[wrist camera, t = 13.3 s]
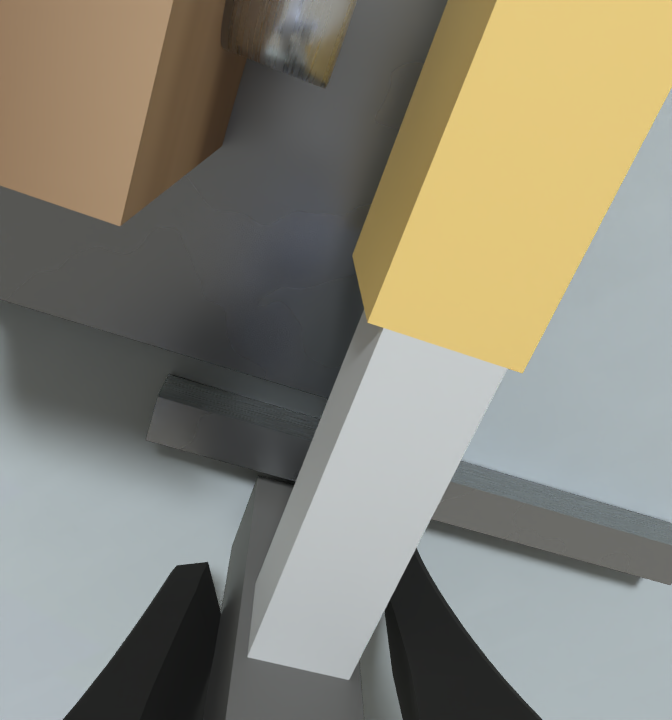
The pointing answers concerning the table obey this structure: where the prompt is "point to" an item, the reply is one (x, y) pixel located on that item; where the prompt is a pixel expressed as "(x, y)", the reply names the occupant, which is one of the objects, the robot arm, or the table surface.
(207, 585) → the robot arm
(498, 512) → the press base
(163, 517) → the table surface
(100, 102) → the brown rectangular block
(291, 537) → the lever with yellow grip
